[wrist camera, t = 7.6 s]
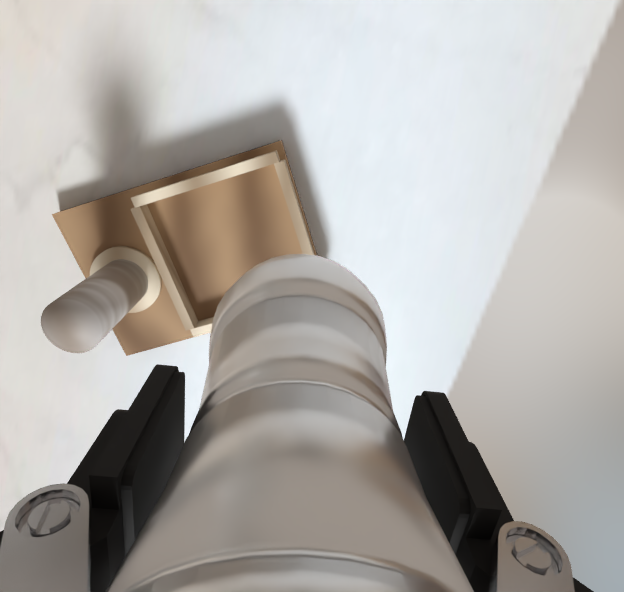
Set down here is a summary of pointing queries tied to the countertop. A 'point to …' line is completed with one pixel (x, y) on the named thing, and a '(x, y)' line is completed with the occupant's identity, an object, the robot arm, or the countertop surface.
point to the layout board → (174, 250)
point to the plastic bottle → (294, 455)
